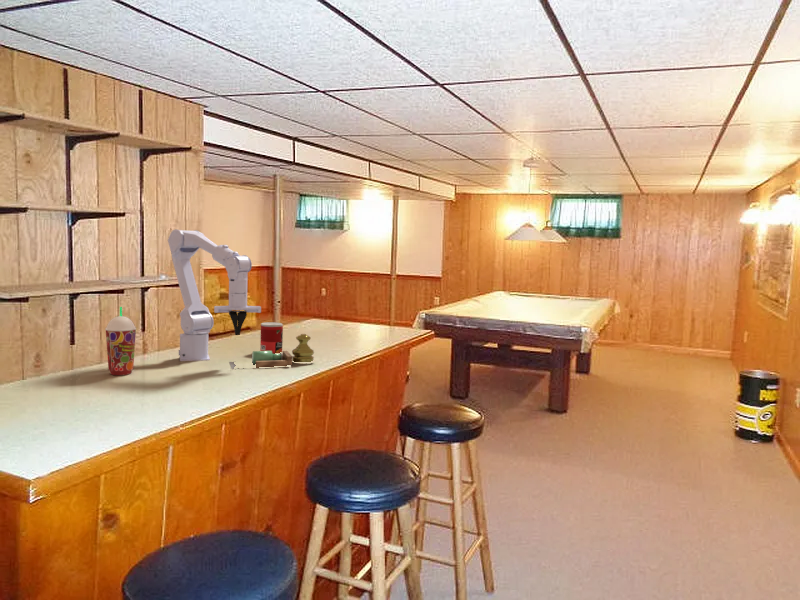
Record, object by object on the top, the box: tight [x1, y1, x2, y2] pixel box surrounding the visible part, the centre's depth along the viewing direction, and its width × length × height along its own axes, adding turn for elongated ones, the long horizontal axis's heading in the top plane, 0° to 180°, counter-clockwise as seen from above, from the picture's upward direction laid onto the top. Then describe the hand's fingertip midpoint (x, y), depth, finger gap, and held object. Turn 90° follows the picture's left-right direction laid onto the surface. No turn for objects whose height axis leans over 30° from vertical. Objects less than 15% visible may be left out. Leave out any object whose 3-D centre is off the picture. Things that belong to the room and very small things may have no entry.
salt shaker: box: [291, 333, 315, 362], centre depth 205 cm, size 7×7×10 cm
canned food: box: [259, 321, 284, 354], centre depth 220 cm, size 8×8×11 cm
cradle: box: [228, 350, 293, 370], centre depth 199 cm, size 19×12×4 cm, turn 110°
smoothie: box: [104, 306, 137, 376], centre depth 179 cm, size 8×8×20 cm
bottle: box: [251, 350, 283, 365], centre depth 200 cm, size 4×4×10 cm
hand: (237, 334), depth 195 cm, fingers closed
